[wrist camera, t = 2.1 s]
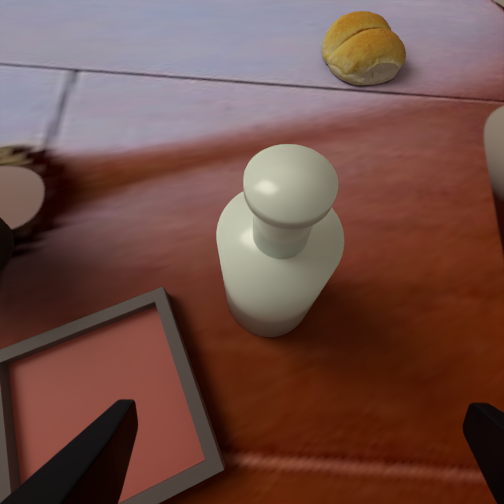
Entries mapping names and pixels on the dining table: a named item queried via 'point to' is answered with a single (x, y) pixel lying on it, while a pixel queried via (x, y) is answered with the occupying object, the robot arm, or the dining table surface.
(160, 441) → the lacquer tray
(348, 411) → the dining table surface
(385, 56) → the bread roll
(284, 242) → the sake flask
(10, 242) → the coffee mug
